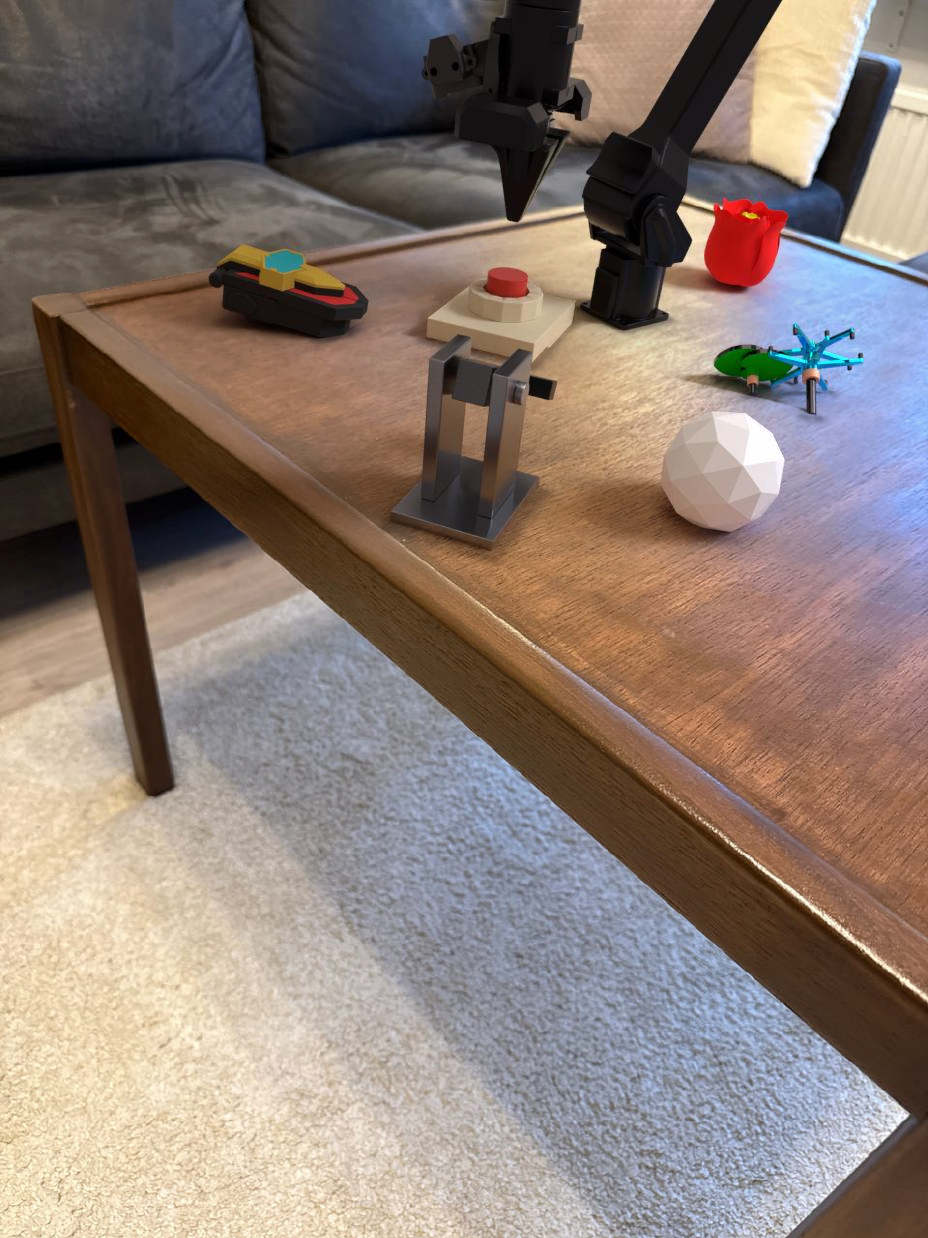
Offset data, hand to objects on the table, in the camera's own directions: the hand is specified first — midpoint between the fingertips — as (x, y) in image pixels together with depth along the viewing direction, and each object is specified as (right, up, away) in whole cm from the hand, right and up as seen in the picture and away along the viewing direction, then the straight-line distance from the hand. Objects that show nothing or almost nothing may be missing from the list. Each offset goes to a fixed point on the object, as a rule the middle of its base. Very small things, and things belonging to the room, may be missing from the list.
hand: (513, 220), depth 81 cm
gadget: (-19, -8, +4) cm, 21 cm away
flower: (+25, +2, +23) cm, 34 cm away
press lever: (-2, -20, -19) cm, 28 cm away
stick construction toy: (+23, -15, +1) cm, 27 cm away
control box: (-1, -8, +7) cm, 10 cm away
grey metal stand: (-4, -27, -18) cm, 32 cm away
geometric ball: (+12, -27, -16) cm, 34 cm away
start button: (-1, -5, +4) cm, 6 cm away
